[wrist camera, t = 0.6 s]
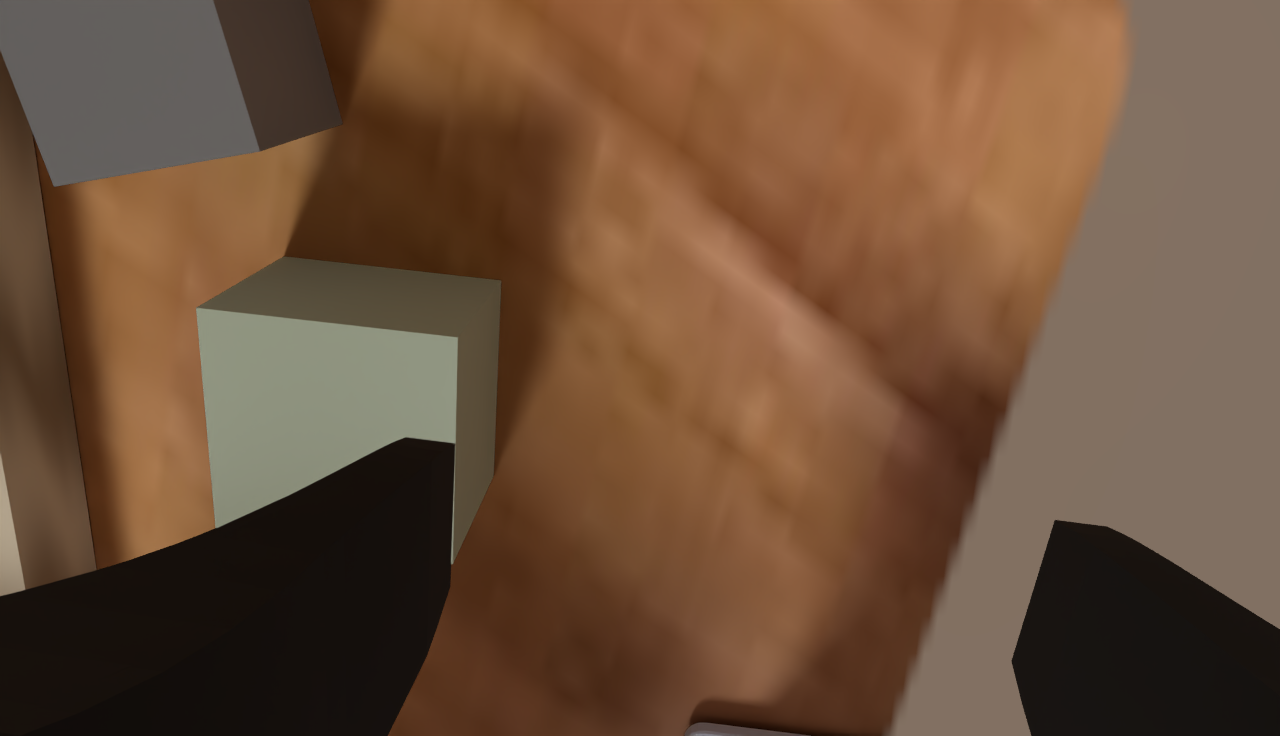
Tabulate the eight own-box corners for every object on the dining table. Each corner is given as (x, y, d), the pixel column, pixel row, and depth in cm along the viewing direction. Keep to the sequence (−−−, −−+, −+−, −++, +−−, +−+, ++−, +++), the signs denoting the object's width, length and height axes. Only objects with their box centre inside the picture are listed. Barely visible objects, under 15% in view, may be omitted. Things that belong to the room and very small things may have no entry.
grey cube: (343, 123, 20) (259, 150, 16) (173, 153, 20) (53, 186, 17) (288, -79, 19) (181, -100, 15) (106, -42, 19) (-41, -53, 15)
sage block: (494, 473, 23) (452, 563, 19) (296, 449, 23) (216, 535, 19) (502, 278, 21) (457, 337, 17) (286, 254, 21) (196, 307, 17)
